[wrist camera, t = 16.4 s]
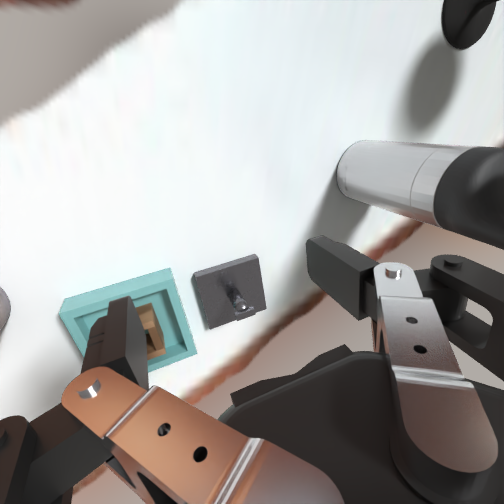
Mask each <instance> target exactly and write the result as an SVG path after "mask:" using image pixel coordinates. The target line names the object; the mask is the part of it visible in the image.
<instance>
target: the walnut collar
mask: <svg viewBox="0 0 504 504" xmlns="http://www.w3.org/2000/svg"><path fill="white" fill-rule="evenodd" d="M136 310H137V313H138V315H139V318H140V320H141V322H142V325H143V328H144V330H146V329H148V331H149V333H148V334H145V335H146V343H147V360H150V359H153V358H155V357H158V356H161V355H163V354H166V350H165V342H164V335H163V331H162V329H161V326H160V324H159V321H158V319H157V316H156V313H155V311H154V308H153V306H152V303H148V304H145V305H142V306H139V307H136Z"/></svg>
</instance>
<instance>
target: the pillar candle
mask: <svg viewBox="0 0 504 504" xmlns="http://www.w3.org/2000/svg"><path fill="white" fill-rule="evenodd" d="M10 311H11V306H10V301H9V299H8V296H7V295H6V293H5V292H4V290H3V289H2V288H0V331H1V330H2V328H3V326H4V325H5V323H6V322H7V320H8V318H9V315H10Z"/></svg>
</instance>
